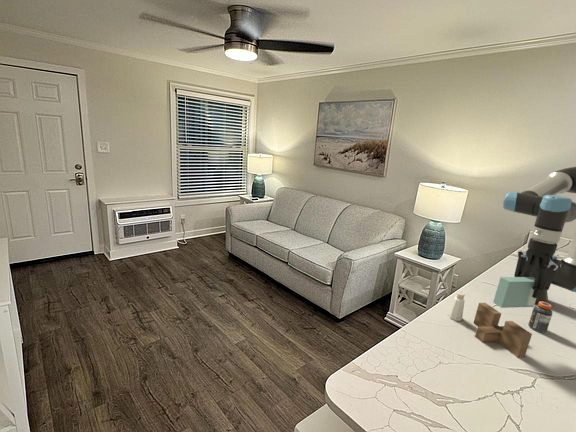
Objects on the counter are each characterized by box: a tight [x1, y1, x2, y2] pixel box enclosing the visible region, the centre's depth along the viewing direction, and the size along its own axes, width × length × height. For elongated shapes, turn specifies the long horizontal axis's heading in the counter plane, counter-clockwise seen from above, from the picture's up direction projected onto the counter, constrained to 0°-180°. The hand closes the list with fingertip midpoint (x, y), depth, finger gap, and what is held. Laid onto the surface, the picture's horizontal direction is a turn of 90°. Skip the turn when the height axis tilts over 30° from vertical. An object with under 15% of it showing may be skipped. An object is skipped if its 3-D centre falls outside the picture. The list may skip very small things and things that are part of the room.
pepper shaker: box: [447, 291, 465, 322], centre depth 126 cm, size 5×5×11 cm
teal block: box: [492, 276, 535, 309], centre depth 110 cm, size 14×4×10 cm, turn 102°
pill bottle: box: [528, 301, 553, 334], centre depth 124 cm, size 6×6×11 cm
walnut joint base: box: [473, 302, 533, 358], centre depth 114 cm, size 20×16×9 cm
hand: (524, 301), depth 112 cm, fingers closed on teal block, 3 cm apart
